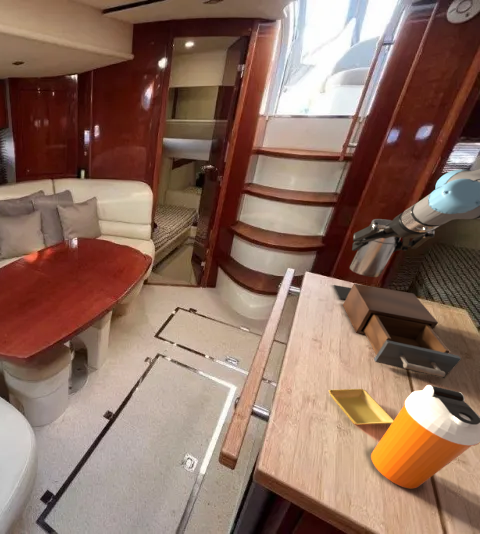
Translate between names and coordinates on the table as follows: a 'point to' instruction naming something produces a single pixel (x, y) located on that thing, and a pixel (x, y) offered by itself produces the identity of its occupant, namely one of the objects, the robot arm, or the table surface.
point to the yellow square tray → (360, 407)
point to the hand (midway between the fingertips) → (370, 249)
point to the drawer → (409, 346)
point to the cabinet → (384, 306)
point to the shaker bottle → (426, 436)
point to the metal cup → (374, 254)
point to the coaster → (342, 292)
